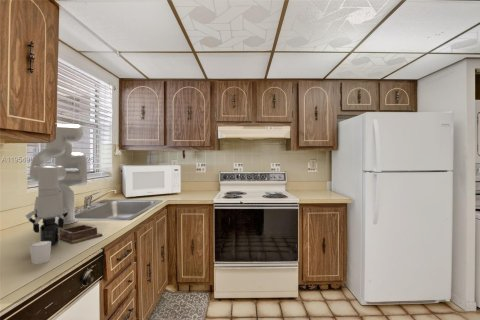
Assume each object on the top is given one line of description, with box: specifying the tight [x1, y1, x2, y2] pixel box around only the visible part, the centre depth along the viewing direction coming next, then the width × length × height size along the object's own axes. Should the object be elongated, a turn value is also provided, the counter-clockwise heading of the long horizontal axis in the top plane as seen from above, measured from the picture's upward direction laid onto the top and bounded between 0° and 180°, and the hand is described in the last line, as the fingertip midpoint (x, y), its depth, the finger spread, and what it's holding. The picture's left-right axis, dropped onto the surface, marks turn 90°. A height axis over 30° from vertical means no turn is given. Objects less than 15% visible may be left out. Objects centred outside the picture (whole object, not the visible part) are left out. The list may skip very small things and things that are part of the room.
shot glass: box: [28, 241, 52, 265], centre depth 104 cm, size 7×7×7 cm
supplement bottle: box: [39, 217, 59, 246], centre depth 124 cm, size 7×7×12 cm
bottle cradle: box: [58, 223, 103, 244], centre depth 135 cm, size 18×14×4 cm
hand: (49, 229), depth 124 cm, fingers open, 9 cm apart
